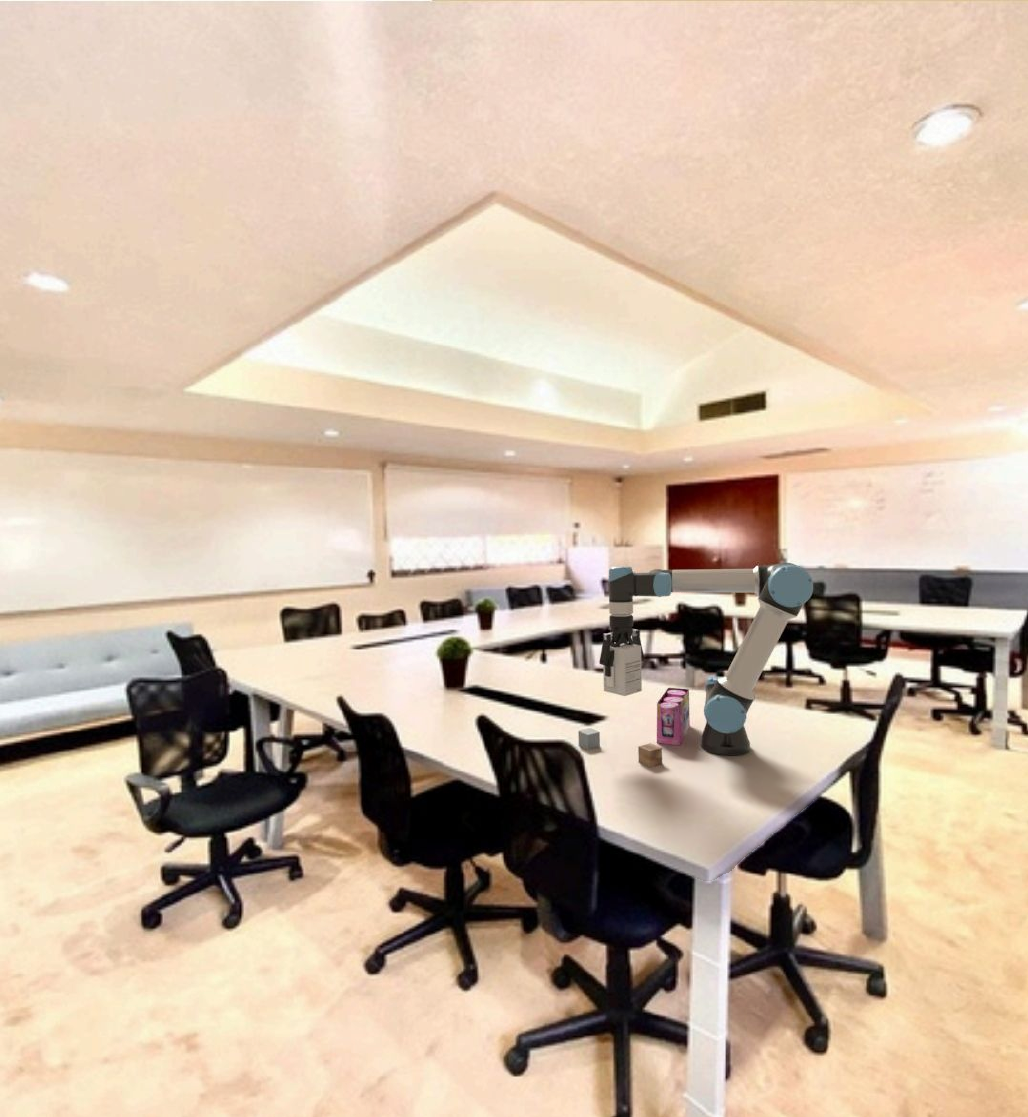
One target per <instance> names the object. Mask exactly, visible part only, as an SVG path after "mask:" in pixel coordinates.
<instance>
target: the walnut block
mask: <svg viewBox="0 0 1028 1117" xmlns="http://www.w3.org/2000/svg"><path fill="white" fill-rule="evenodd" d="M637 750H638V752H637V753H638V763H639V764H642V765H644V766H646V767H649V768H653V767H656V766H659V765H663V748H662V747H661V746H658V745H655V744H653V743H650V742H649V743H646V744H643V745H639V746H638V749H637Z"/></svg>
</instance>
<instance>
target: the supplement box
mask: <svg viewBox="0 0 1028 1117" xmlns="http://www.w3.org/2000/svg"><path fill="white" fill-rule="evenodd" d="M612 650H614V660H613V663H612V666H613V667H614V687H609V686H607V676H605V666H604V665H602V666H603V667H602V668H603V691H604V692H605V693H606V692H607V693H609V694H610V693H611V694H615V695H618V696H622V697H626V696H629V695H632V694H636V693H640V692H642V691H643V689H642V685H643V684H642V682H643V681H642V661H641V646H640V645H634V644H633V645H628V644H624V643H623V644H620V647H616V648H614V647H611V646H610V651H612ZM608 663H609V662H608Z"/></svg>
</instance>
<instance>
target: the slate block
mask: <svg viewBox="0 0 1028 1117" xmlns="http://www.w3.org/2000/svg"><path fill="white" fill-rule="evenodd" d="M600 733H601V732H600V731H598V730H596V729H593V728H591V727H588V728H585V729H581V730H578V746H579V747H581V748H583V749H586V750H587V751H588V750H592V749H596V748H599V747H601V742H600V740H601V738H600V735H601V734H600Z"/></svg>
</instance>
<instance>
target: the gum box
mask: <svg viewBox="0 0 1028 1117" xmlns="http://www.w3.org/2000/svg"><path fill="white" fill-rule="evenodd" d="M690 722H691V721H690V689H688V688H679V687H678V688H677V687H668V688H666V691H664V693H663V694H662V696H661V697H660V698H659V699H658V701H657V703H656V743H657V744H665V745H672V746H680V745H681V744H682V742H683V739H684V738H685V736H686V734H687V732H688V730H689V728H690V726H691V723H690Z"/></svg>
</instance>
